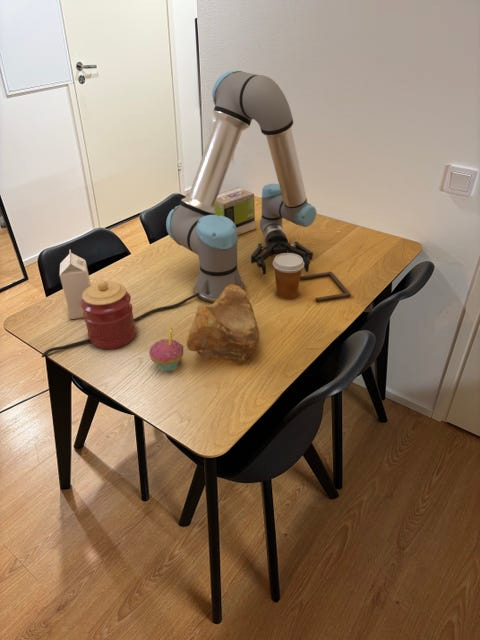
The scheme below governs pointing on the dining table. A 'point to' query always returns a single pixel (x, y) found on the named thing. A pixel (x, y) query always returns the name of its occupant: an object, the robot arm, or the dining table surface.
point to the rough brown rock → (225, 327)
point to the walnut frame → (336, 281)
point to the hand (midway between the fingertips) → (286, 269)
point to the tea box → (237, 208)
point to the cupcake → (166, 353)
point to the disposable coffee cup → (288, 274)
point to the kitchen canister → (108, 314)
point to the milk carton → (74, 283)
